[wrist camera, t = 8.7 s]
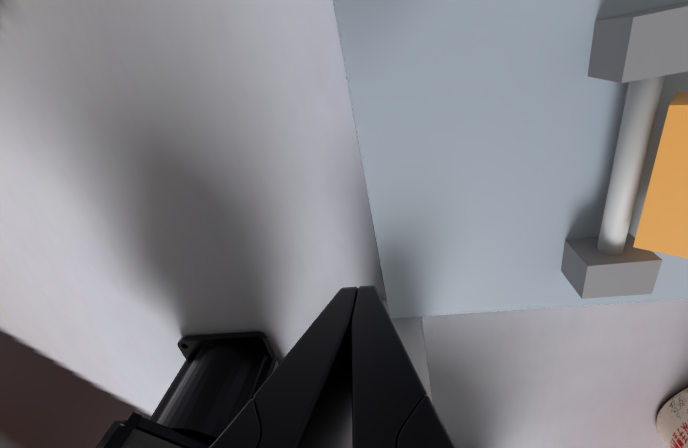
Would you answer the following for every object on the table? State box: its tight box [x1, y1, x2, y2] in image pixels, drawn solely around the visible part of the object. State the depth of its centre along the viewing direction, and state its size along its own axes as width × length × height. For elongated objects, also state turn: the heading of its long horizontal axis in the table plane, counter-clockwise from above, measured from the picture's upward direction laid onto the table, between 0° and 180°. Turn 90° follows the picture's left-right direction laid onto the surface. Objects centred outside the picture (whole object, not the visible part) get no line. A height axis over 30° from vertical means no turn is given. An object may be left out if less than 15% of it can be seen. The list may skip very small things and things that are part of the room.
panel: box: [333, 0, 688, 318], centre depth 12 cm, size 18×14×4 cm
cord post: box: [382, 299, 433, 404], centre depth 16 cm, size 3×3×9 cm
